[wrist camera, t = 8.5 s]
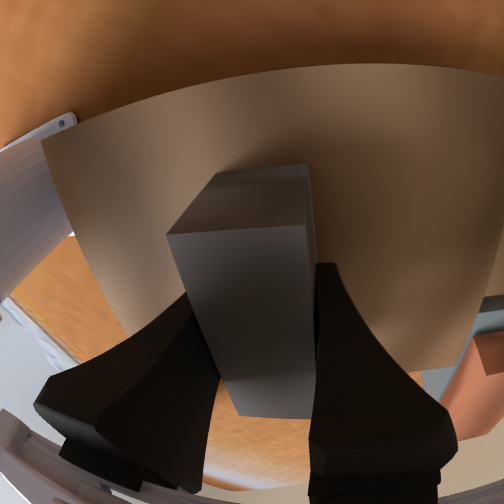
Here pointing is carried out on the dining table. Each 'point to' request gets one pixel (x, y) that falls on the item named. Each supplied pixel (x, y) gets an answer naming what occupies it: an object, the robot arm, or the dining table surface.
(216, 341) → the lid
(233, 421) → the dining table surface
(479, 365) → the salmon pink block
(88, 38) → the dining table surface
